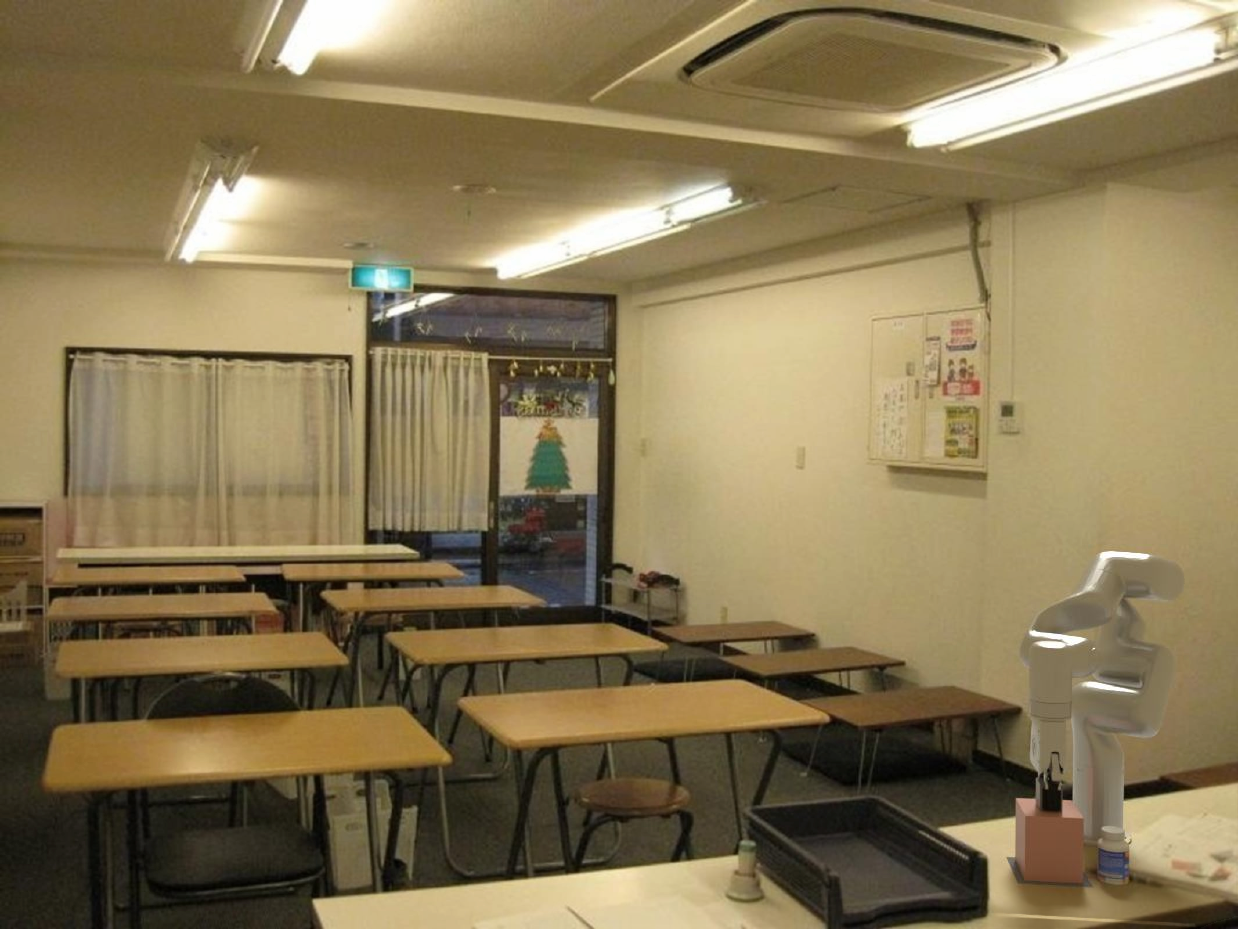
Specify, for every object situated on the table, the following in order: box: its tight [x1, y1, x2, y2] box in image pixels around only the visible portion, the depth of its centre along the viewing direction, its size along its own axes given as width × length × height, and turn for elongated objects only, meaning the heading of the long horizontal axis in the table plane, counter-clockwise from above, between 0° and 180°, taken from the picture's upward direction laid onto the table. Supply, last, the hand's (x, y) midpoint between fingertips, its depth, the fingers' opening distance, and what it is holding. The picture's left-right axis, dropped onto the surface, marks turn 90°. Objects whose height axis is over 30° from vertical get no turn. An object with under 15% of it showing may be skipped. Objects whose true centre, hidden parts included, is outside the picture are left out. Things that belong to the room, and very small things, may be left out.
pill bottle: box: [1096, 826, 1130, 886], centre depth 223 cm, size 5×5×10 cm
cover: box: [1014, 777, 1085, 883], centre depth 226 cm, size 10×10×17 cm
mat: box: [1006, 856, 1094, 888], centre depth 227 cm, size 13×13×1 cm
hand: (1048, 805), depth 226 cm, fingers closed on cover, 4 cm apart
